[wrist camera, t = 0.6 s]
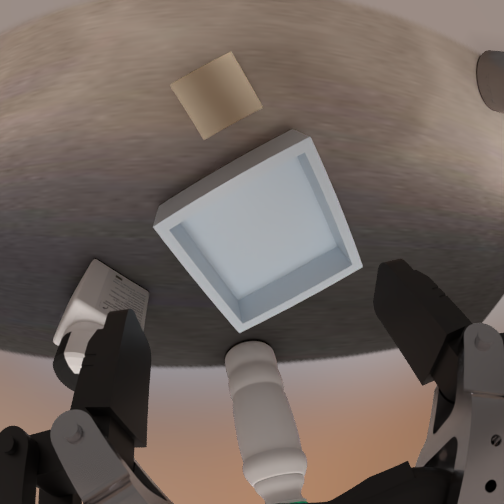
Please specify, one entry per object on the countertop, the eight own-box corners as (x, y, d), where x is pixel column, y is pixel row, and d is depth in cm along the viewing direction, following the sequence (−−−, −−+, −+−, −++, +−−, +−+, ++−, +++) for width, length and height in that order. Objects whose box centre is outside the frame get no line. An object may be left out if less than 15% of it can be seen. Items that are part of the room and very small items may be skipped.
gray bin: (292, 128, 28) (310, 136, 23) (343, 244, 35) (362, 266, 31) (159, 205, 29) (152, 226, 25) (233, 304, 37) (239, 333, 32)
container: (121, 328, 36) (105, 414, 25) (70, 299, 33) (37, 381, 21) (150, 291, 34) (138, 381, 23) (94, 256, 30) (57, 340, 19)
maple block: (224, 60, 23) (231, 51, 18) (250, 104, 26) (263, 107, 21) (175, 86, 24) (169, 85, 19) (202, 130, 26) (203, 140, 21)
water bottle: (214, 361, 41) (240, 532, 20) (244, 331, 39) (289, 519, 18) (253, 375, 44) (290, 528, 23) (283, 348, 42) (338, 511, 21)
